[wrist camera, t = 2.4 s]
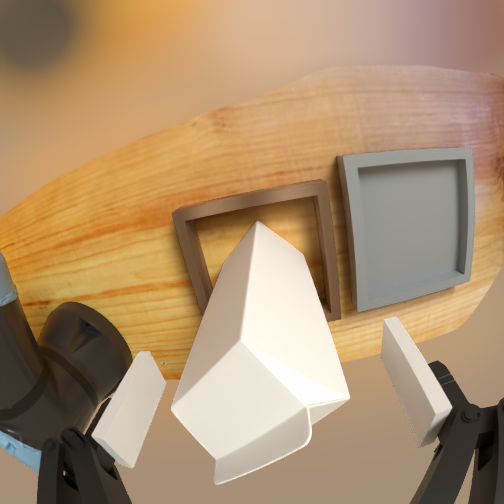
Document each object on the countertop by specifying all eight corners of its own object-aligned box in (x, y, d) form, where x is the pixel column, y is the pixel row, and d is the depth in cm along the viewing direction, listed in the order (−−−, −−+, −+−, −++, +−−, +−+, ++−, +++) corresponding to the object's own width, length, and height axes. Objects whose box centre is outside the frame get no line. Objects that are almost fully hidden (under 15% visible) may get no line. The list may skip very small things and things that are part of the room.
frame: (215, 324, 31) (210, 339, 28) (181, 206, 27) (171, 212, 24) (335, 304, 30) (341, 319, 27) (320, 179, 25) (326, 182, 22)
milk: (303, 253, 28) (371, 454, 7) (267, 295, 30) (268, 500, 9) (256, 218, 27) (233, 408, 6) (221, 263, 29) (151, 463, 8)
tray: (351, 301, 30) (357, 312, 27) (336, 156, 24) (342, 156, 22) (459, 273, 28) (469, 281, 25) (458, 147, 23) (471, 147, 20)
